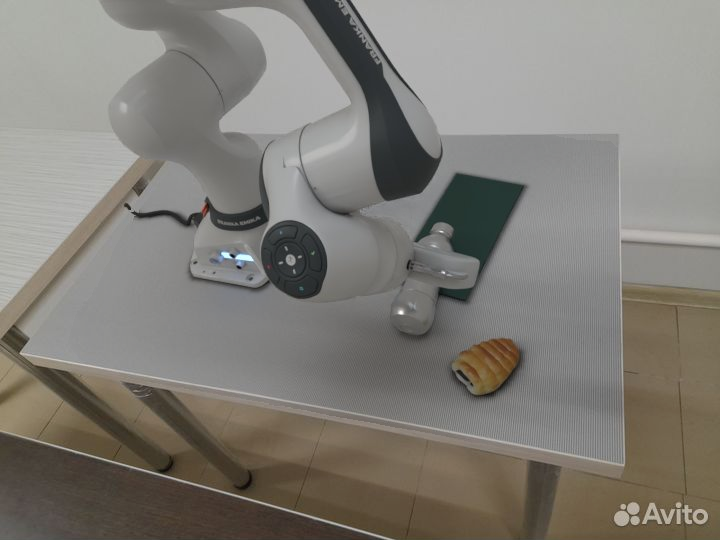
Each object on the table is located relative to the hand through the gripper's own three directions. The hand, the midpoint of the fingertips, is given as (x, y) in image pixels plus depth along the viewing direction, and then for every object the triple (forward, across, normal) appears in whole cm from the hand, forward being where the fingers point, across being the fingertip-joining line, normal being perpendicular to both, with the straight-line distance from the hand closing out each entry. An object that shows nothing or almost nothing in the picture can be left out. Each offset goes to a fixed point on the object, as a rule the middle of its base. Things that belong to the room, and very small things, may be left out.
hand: (419, 252), depth 72 cm
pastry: (+5, -12, +14) cm, 19 cm away
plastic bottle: (+3, 0, +12) cm, 12 cm away
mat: (+22, +2, -3) cm, 22 cm away
